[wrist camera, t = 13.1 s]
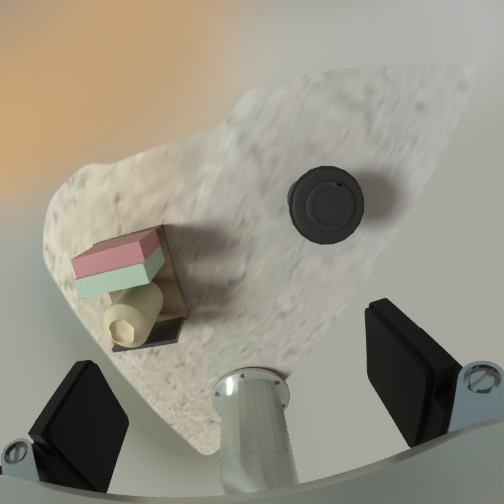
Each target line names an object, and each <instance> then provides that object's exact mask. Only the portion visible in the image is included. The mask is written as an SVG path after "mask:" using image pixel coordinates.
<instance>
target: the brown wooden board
mask: <svg viewBox="0 0 504 504" xmlns="http://www.w3.org/2000/svg"><path fill="white" fill-rule="evenodd" d="M155 228H156V231H157V235H158V238H159V242H160V245H161V249H162V252H163V255H164V259H165V263H164V264H163V265H162V267H161V268H160V269H159V271H158V272H157V273H156V275H155V276H154V278H153V279H152V280H151V281H153V282H154V283H156V284H157V285H158V286H159V288H160V289H161V291H162V293H163V298H164V301H163V306H162V309H161V311H160V313H159V315H158V317H157V319H156V321H155V322H158V321H164V320H169V319H174V318H179V317H183V318H184V320H186V319H188V316H189V313H188V310H187V307H186V304H185V300H184V297H183V294H182V291H181V288H180V285H179V282H178V278H177V275H176V272H175V269H174V265H173V262H172V258H171V255H170V252H169V248H168V245H167V241H166V238H165V234H164V230H163V227H162V225H158V226H155V227H151V228H147V229H144V230H140V231H136V232H133V233H129V234H126V235H122V236H118V237H115V238H111V239H108V240H105V241H101V242H98V243H96V244H94V245H93V246H95V245H98V244H101V243H105V242H108V241H112V240H115V239H119V238H122V237H126V236H129V235H133V234H137V233H140V232H144V231H148V230H151V229H155ZM123 290H124V289H121V290H117V291H112V292H109V295H110V298H111V300H112V303H113V302H114V301H115V300H116V298H117V297H118V296H119V295H120V294H121V293H122V291H123Z"/></svg>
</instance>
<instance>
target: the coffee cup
mask: <svg viewBox="0 0 504 504" xmlns="http://www.w3.org/2000/svg"><path fill="white" fill-rule="evenodd" d="M287 198H288V205H289V213H290V216H291V219H292V222H293V225H294V226H295V228H296V229H297V230H298V232H299V233H300V234H301V235H302V236H304V237H305V238H306V239H308V240H309V241H311V242H314V243H318V244H321V245H324V244H335V243H338V242H340V241H343V240H345V239H346V238H347V237H349V236H350V235H351V234H352V233H353V232H354V231H355V230H356V228H357V227H358V225H359V224H360V221H361V218H362V215H363V212H364V198H363V195H362V191H361V188H360V186H359V185H358V183H357V181H356V180H355V178H354V177H352V176H351V175H350V174H349V173H348V172H346V171H345V170H342V169H340V168H337V167H334V166H320V167H317V168H314V169H311V170H309V171H308V172H306V173H305V174H304V175H302V176H301V177H300V178H299V180H298V181H296V182H295V183H294V184H293V185H292V186H291V188H290V189H289V192H288V195H287Z"/></svg>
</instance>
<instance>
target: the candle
mask: <svg viewBox="0 0 504 504" xmlns="http://www.w3.org/2000/svg"><path fill="white" fill-rule="evenodd" d="M163 301H164V298H163V293H162V291H161V289H160V288H159V286H158V285H157V284H156V283H154V282H153V281H151V282H150V283H148V284H144V285H139V286H135V287H130V288H126V289H124V290H123V291H122V293H121V294H120V295H119V296H118V297H117V298H116V300H115V301H114V302H113V303H112V304H111V306H110V307H109V308H108V309H107V310H106V312H105V314H104V317H103V325H104V328H105V331H106V333H107V334H108V336H109V337H110V338H111V339H112V340H113V341H114V342H116V343H117V344H119V345H121V346H124V347H129V348H134V347H138V346H140V345H142V344H143V343H144V342H145V341H146V340H147V338H148V336H149V334H150V332H151V329H152V327H153V325H154V323H155V321H156V319H157V317H158V315H159V313H160V311H161V309H162V306H163Z"/></svg>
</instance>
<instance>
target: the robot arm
mask: <svg viewBox="0 0 504 504" xmlns="http://www.w3.org/2000/svg"><path fill="white" fill-rule="evenodd" d="M365 327H366V350H367V374H368V378H369V380H370V382H371V384H372V386H373V387H374V389H375V391H376V392H377V394H378V395H379V397H380V399H381V400H382V402H383V404H384V405H385V407H386V409H387V410H388V412H389V414H390V415H391V417H392V419H393V420H394V422H395V423H396V425H397V427H398V429H399V431H400V432H401V434H402V436H403V437H404V439H405V441H406V442H407V444H408V446H409V447H410V448H411V449H409V450H406V451H404V452H401V453H399V454H396V455H394V456H391V457H389V458H386V459H383V460H380V461H377V462H375V463H372V464H369V465H366V466H363V467H360V468H357V469H353V470H350V471H347V472H344V473H340V474H337V475H334V476H330V477H326V478H322V479H318V480H314V481H310V482H306V483H301V484H299V481H298V476H297V472H296V467H295V463H294V458H293V453H292V449H291V444H290V439H289V434H288V430H287V425H286V421H285V416H284V410H285V409H286V408H287V405H288V403H289V399H290V394H289V389H288V386H287V384H286V382H285V381H284V380H283V379H282V378H281V377H280V376H279V375H277V374H276V373H274V372H272V371H269V370H265V369H261V368H244V369H239V370H236V371H233V372H231V373H229V374H227V375H225V376H224V377H222V378H221V379H220V380H219V381H218V382H217V383H216V385H215V387H214V389H213V392H212V404H213V407H214V409H215V410H216V412H217V413H218V414H219V415H220V416H221V439H220V482H221V486H222V488H223V490H224V492H225V494H226V495H222V496H207V497H174V498H173V497H142V496H128V495H116V494H108V493H106V492H107V491H108V487H109V484H110V481H111V478H112V474H113V471H114V468H115V465H116V462H117V459H118V456H119V453H120V450H121V446H122V444H123V441H124V438H125V435H126V432H127V429H128V426H129V420H128V417H127V415H126V414H125V412H124V410H123V409H122V407H121V405H120V404H119V402H118V400H117V399H116V397H115V395H114V394H113V392H112V390H111V388H110V387H109V385H108V383H107V381H106V379H105V378H104V376H103V374H102V372H101V370H100V368H99V367H98V365H97V364H95V363H94V362H92V361H91V360H85V361H77V362H76V363H75V364H74V365H73V367H72V368H71V370H70V371H69V373H68V374H67V375H66V377H65V378H64V380H63V381H62V383H61V384H60V385H59V387H58V388H57V390H56V391H55V393H54V394H53V396H52V397H51V399H50V400H49V402H48V403H47V405H46V406H45V408H44V409H43V411H42V412H41V414H40V415H39V417H38V418H37V420H36V421H35V423H34V425H33V426H32V428H31V429H30V431H29V433H28V434H29V436H30V437H31V438H32V439H33V441H34V443H33V444H31V443H30V442H29V441H28V440H27V439H24V438H21V439H16V440H14V441H12V442H10V443H9V444H8V445H7V446H6V447H5V448H4V450H3V452H2V455H1V464H2V465H1V466H0V504H504V371H503V370H502V368H501V367H499V366H498V365H497V364H495V363H492V362H489V361H476V362H473V363H470V364H468V365H466V366H465V367H462V366H461V365H460V364H459V363H458V362H457V361H456V360H455V359H454V358H453V357H452V356H451V355H450V354H449V353H448V352H446V351H445V350H444V349H443V348H442V347H441V346H440V345H439V344H438V343H437V342H436V341H435V340H434V339H433V338H432V337H430V336H429V335H428V334H427V333H426V332H425V331H424V330H423V329H422V328H420V327H418V326H417V325H416V324H415V323H414V322H413V321H412V320H410V318H408V317H407V316H406V315H405V314H404V313H403V312H402V311H401V310H399V309H398V308H397V307H396V306H395V305H394V304H393V303H392V302H391V301H389V300H388V299H387V298H383V299H380V300H377V301H374V302H371V303H370V304H369V308H366V309H365Z"/></svg>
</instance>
